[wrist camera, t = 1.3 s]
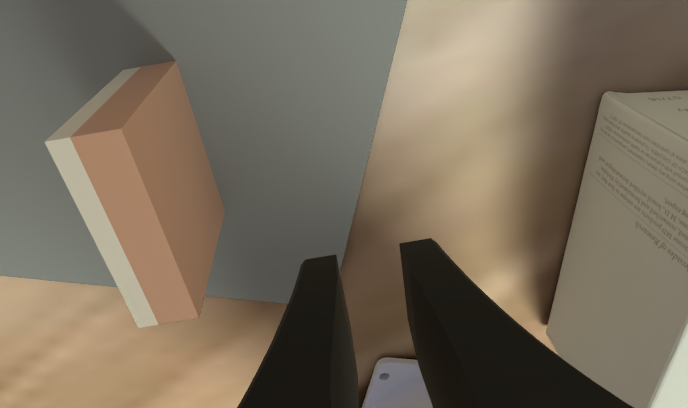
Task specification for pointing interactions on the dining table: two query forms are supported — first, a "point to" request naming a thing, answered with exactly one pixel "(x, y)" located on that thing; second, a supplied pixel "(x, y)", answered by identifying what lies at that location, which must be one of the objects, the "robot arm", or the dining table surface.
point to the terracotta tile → (145, 190)
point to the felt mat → (201, 123)
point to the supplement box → (630, 254)
